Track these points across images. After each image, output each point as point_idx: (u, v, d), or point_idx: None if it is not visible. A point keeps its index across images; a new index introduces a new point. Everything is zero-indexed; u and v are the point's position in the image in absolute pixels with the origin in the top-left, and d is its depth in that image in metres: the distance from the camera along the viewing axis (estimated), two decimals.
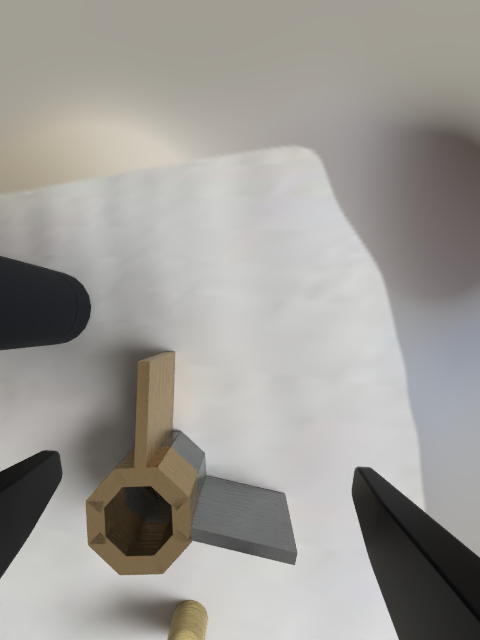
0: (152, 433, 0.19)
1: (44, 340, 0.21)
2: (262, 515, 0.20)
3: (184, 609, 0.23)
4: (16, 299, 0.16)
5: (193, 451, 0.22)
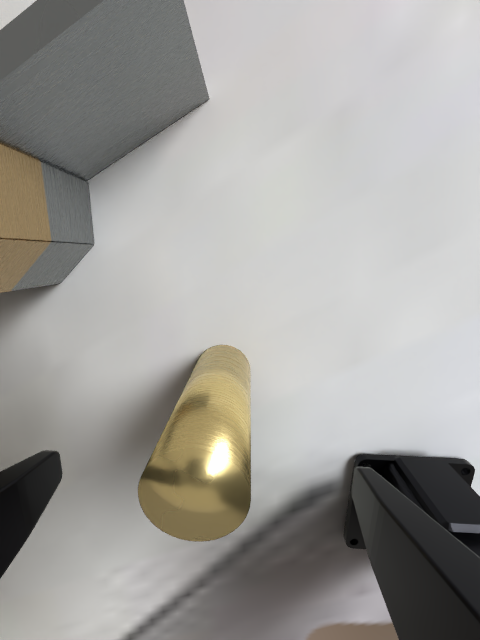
0: None
1: None
2: None
3: (198, 360, 0.14)
4: None
5: None
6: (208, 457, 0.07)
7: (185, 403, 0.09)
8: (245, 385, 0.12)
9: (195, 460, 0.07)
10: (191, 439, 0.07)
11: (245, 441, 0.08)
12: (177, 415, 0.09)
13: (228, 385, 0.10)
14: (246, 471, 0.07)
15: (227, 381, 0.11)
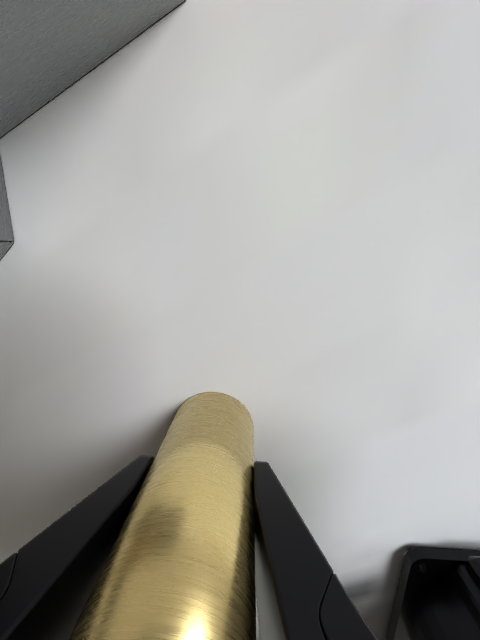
0: None
1: None
2: None
3: (174, 418, 0.09)
4: None
5: None
6: None
7: (120, 569, 0.04)
8: (246, 481, 0.07)
9: None
10: None
11: None
12: (94, 619, 0.04)
13: (214, 502, 0.06)
14: None
15: (213, 490, 0.06)
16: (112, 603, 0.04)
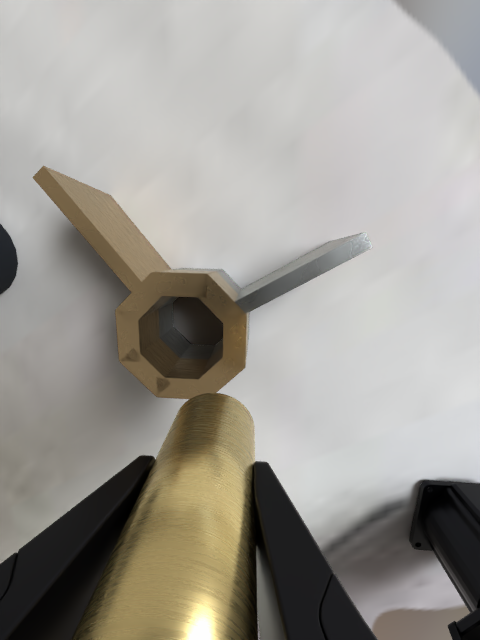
0: (125, 252, 0.14)
1: None
2: (311, 255, 0.16)
3: (175, 419, 0.09)
4: None
5: (205, 269, 0.18)
6: None
7: (121, 571, 0.04)
8: (247, 483, 0.07)
9: None
10: None
11: None
12: (95, 622, 0.04)
13: (216, 504, 0.06)
14: None
15: (214, 492, 0.06)
16: (113, 606, 0.04)
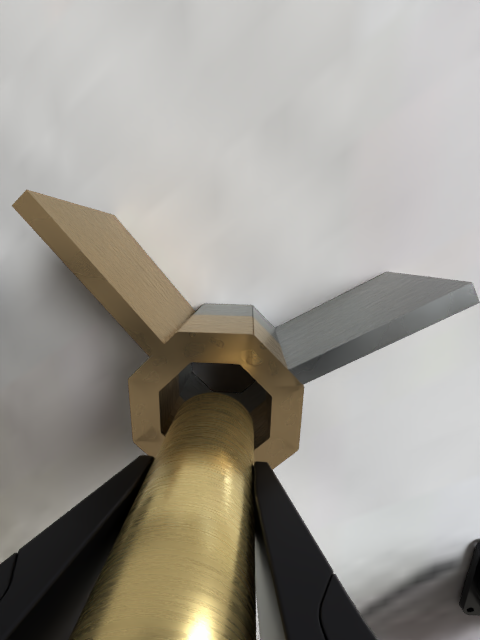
0: (139, 301, 0.11)
1: None
2: (376, 299, 0.12)
3: (174, 418, 0.09)
4: None
5: (234, 308, 0.15)
6: None
7: (119, 572, 0.04)
8: (246, 482, 0.07)
9: None
10: None
11: None
12: (92, 623, 0.04)
13: (214, 503, 0.06)
14: None
15: (212, 491, 0.06)
16: (111, 606, 0.04)
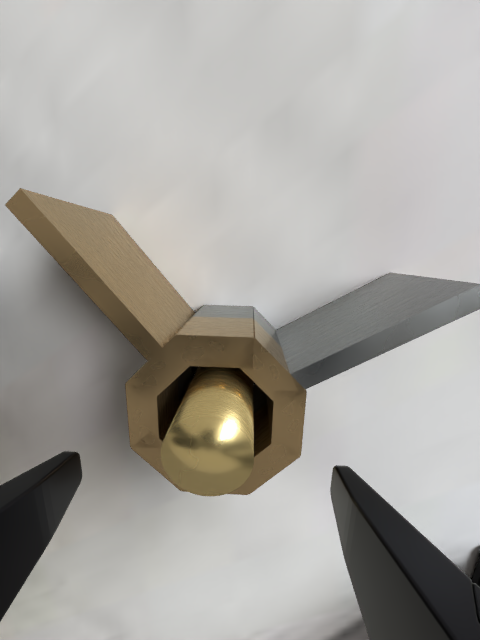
0: (137, 303, 0.11)
1: None
2: (380, 301, 0.12)
3: None
4: None
5: (234, 310, 0.14)
6: (219, 423, 0.08)
7: (197, 384, 0.11)
8: None
9: (209, 425, 0.08)
10: (205, 409, 0.09)
11: (249, 415, 0.10)
12: (191, 393, 0.10)
13: (234, 370, 0.12)
14: (250, 436, 0.09)
15: None
16: (198, 388, 0.10)
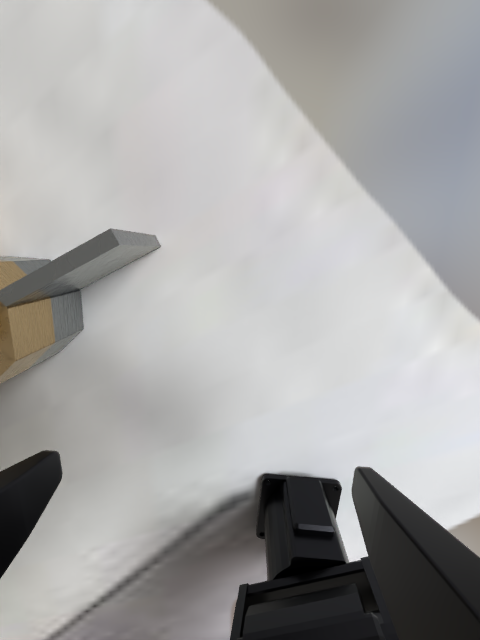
0: None
1: None
2: None
3: None
4: None
5: (21, 259, 0.18)
6: None
7: None
8: None
9: None
10: None
11: None
12: None
13: None
14: None
15: None
16: None
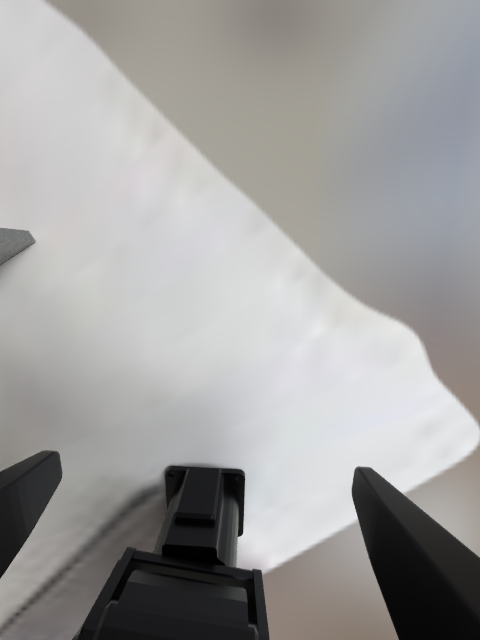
0: None
1: None
2: None
3: None
4: None
5: None
6: None
7: None
8: None
9: None
10: None
11: None
12: None
13: None
14: None
15: None
16: None
